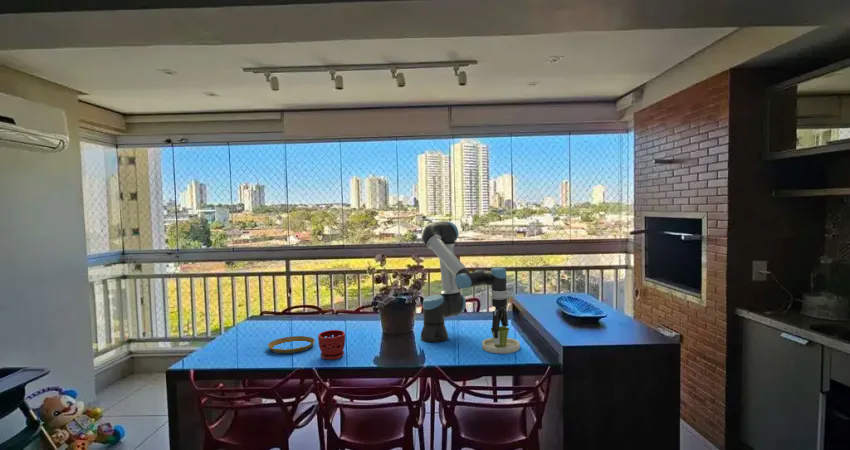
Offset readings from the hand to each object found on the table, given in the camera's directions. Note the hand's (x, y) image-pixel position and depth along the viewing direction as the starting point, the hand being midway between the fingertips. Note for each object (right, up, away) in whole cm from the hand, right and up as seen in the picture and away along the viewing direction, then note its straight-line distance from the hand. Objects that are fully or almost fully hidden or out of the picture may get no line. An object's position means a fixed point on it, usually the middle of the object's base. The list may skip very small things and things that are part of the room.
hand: (500, 341), depth 226 cm
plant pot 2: (0, -2, 0) cm, 2 cm away
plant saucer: (-110, -7, +11) cm, 111 cm away
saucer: (0, -3, 0) cm, 3 cm away
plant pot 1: (-85, -6, -6) cm, 85 cm away
